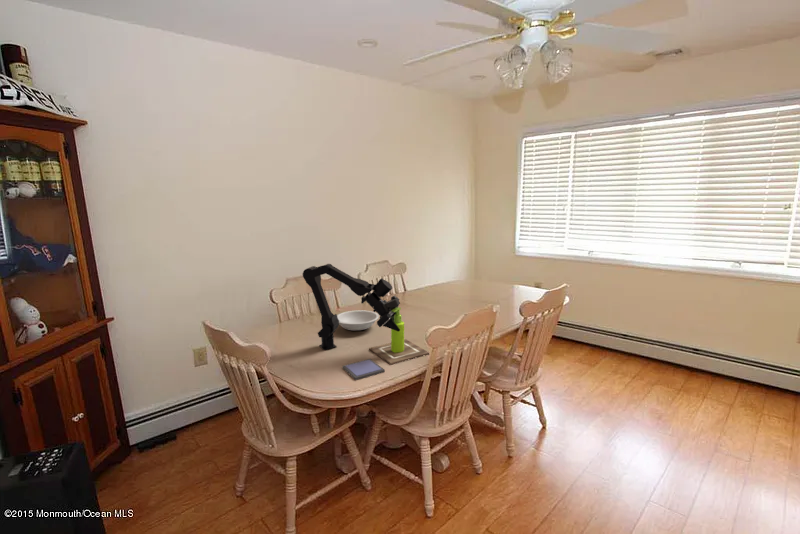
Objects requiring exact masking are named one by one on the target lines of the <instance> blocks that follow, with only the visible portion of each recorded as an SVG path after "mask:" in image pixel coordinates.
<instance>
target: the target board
mask: <svg viewBox="0 0 800 534" xmlns="http://www.w3.org/2000/svg"><path fill="white" fill-rule="evenodd" d="M368 349H369V351H371V352H372V353H373V354H375V355H376V356H378V357H379V358H380V359H382V360H384V361H385V362H386V363H388V364H389V365H390V364H392V365H396V364H399V363H402V361H403V362H406V361H405V360H407V361H409V360H408V359H410V360H413V359H412V358H414V359H416V358H415V357H417V358H420V357H419V356H421V357H424V356H423V355H425V356H428V355H430V352H429V351H428V350H425V349H424V348H422V347H420V346H418V345H417V344H415V343H414V342H412V341H410V340H408V339H406V338H404V351H403V352H399V353H396V352H392V351H391V342H389V343H384V344H383V343H382V344H380V345H376V346H372V347H369V348H368ZM395 363H396V364H395Z"/></svg>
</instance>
